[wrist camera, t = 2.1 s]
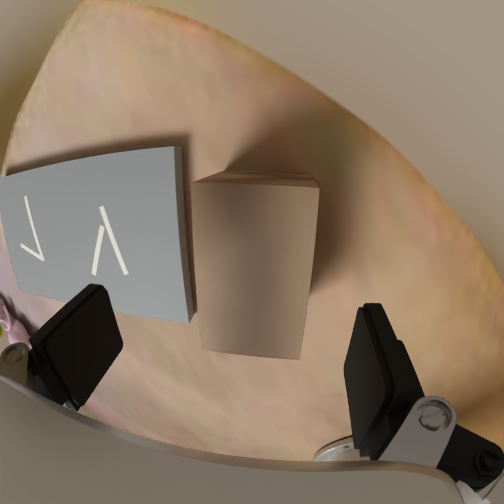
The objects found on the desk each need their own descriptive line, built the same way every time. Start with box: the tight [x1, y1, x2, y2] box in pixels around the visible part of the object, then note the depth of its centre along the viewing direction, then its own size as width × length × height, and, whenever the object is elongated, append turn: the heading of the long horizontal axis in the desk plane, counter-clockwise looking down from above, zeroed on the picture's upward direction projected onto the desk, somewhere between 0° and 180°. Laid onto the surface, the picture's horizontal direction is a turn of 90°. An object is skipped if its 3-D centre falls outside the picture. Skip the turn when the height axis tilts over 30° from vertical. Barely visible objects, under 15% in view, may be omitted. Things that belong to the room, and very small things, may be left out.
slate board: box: [0, 146, 194, 323], centre depth 22 cm, size 24×14×2 cm, turn 90°
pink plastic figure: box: [0, 298, 31, 350], centre depth 28 cm, size 6×6×15 cm
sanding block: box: [191, 171, 320, 360], centre depth 18 cm, size 6×10×7 cm, turn 179°
